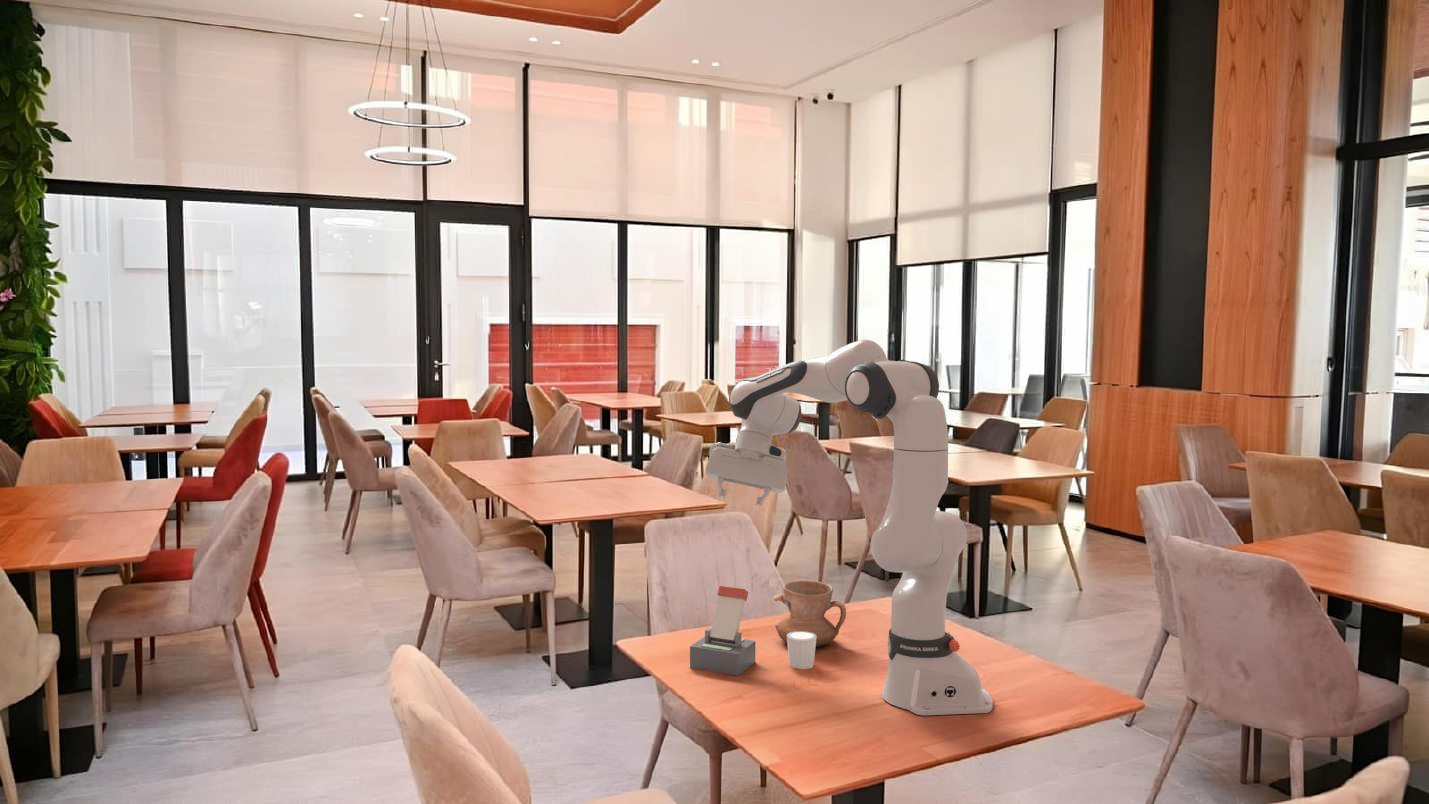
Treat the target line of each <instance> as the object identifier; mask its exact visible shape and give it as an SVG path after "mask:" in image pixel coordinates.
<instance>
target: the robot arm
mask: <svg viewBox="0 0 1429 804" xmlns="http://www.w3.org/2000/svg"><path fill="white" fill-rule="evenodd" d="M939 391H940V382H939V378H938V375H937V374H936V372H935V370H934V369H933V368H931V367H930V366H928V365H927V364H924V363H922V362H918V361H913V360H907V359H899V360H897V361H896V360H889V358H888V357H887V355H886V352H885V351H884V349H883V348H882V347H881V345H879V344H878V343H877V342H876V341H873V340H871V339H860V340H857V341H854V342H850V343H848V344H846V345H844V346H842V347H838V348H837V349H835V350H834V351H833V352H830V353H829V354H826V355H822V356H820V357H817V358H812V359H806V360H797V361H792V362H789V363H785V364H783V365H782V366H778V367H776V368H774V369H772V370H769V371H767V372H765V373H762V374H760V375H758V376H749V377H746V378H743V379H741V380H740V381H738V382H736V383H735V385H734V386H733V387H732V388H731V390H730V393H729V397H728V403H729V407H730V410H731V412H732V413H733V416H735V417H737V418H739V419H741V427H740V429H739V431H738V432H737V436H736V441H735V444H729V443H723V442H721V441H720V442H718V441H717V443H712V444H711V446H710V447H709V450H708V456H709V458H708V460H707V463H706V466H705V475H706V477H707V478H709V479H713V480H717V487H718V489H719V492H718V498H723V499H724V498H725V496H726V493H727V490H726V489H724V488H723V486H722V485H724V482H727V483H732V484H733V483H734V484H737V485H742V486H746V487H751V488H756V489H760V490H763V494H762V495H761V496H757V499H756V503H755V505H756V506H758V507H762V506H763V503H764V501H765V500H766V498H767V497H769V495H770V493H771V492H775V493H778V494H782V493H783V492H784V491H786V484H787V477H788V467H787V466H788V465H787V452H786V450H785V449H783V448H780V447H778V446H777V445H775V444H773V437H774V436H775V435H777V436H785V435H788V434H790V433H792V432H794V431H796V430H797V428H798V427H799V425H800V423H801V420H802V407H801V404H800V402H799V401H798V400H797V399H795V398H794V397H792V396H790V395H788V394H785V393H793V394H799V395H802V396H805V397H806V396H807V397H809V398H813V399H815V400H817V401H818V400H819V401H821V402H823V403H828V404H834V403H841V402H845V401H848V403H849V405H851V407H853V408H854V409H856V410H857V411H860V412H862V413H865V414H868V415H871V416H872V417H874V418H875V419H878V420H881V419H884V418H885V417H888V419H889V420H890V421H891V422H892V425H893V462H892V463H893V465H892V467H893V468H892V472H893V473H892V484H891V485H892V486H891V490H890V495H889V496H890V497H889V499H888V503H887V506H886V509H885V512H884V516H883V518H882V520H881V523H880V524H879V525H878V527H877V528H876V530H874V532H873V534H872V537H871V539H870V552H871V555H872V556H871V557H873V560H874V562H875V563H876V564H877V566H879V568H881V569H883V570H884V571H886V572H890V573H902V575H901V578H900V580H899V581H898V583H897V585H896V586H895V587H894V589H893V591H892V594H891V614H890V615H891V618H890V620H891V621H890V629H889V631H888V637H887V654H888V658H889V660H888V668H887V673H886V677H885V678H886V679H885V682H884V686H883V689H882V693H881V697H882V699H883V700H885V702H887V703H888V704H891V706H892V705H893V706H895V707H898V708H901V709H905V710H908V711H909V712H911V713H914V714H916V715H918V716H937V715H938V716H940V715H941V716H944V715H962V714H963V715H966V714H968V715H969V714H972V715H973V714H988V713H990V712H991V711H992V710H993V708H994V704H993V703H994V702H993V698H992V696H991V695H990V692H988V690H986V688H984V687H982V682H981V678H980V674H979V673H978V671H977V669H976V668H975V666H973V665H972V664H971V663H970V662H969V661H967V660H966V659H965V658H964V657H962V656H961V655H960V654H958V653H957V652H958V651H959V650H960V648H961V646H960V644H959V641H957V640H956V639H955V637H954V636H953V635H952V634H951V633H950V632H949V631H948V632H947V631H946V613H947V611H946V610H947V609H946V608H947V598H948V592H949V589H950V588H949V587H950V583H951V579H952V576H953V573H954V569H955V566H956V563H957V561H958V558H959V556H960V555H961V553H962V552H963V550H964V548H965V547H966V545H967V540H968V532H967V528H966V526H965V524H964V522H963V520H962V519H961V518H960V517H959V516H957V515H956V514H955V513H952V512H948V511H943V510H937V509H938V505H939V502H940V501H941V498H942V496H944V494H945V492H946V491H947V487H948V485H949V432H948V423H947V422H948V421H947V415H946V412H945V411H946V410H945V407H944V405H943V403H942V402H941V400H940V399H938V396H939Z"/></svg>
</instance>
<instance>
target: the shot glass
mask: <svg viewBox="0 0 1429 804" xmlns="http://www.w3.org/2000/svg"><path fill="white" fill-rule="evenodd" d="M816 638H817V636H816V634H814V633H811V632H806V631H794V632H790V633H788V634H787V642H786V643H787V655H788V665H789V667H791V668H792V669H796V668H797V670H808V669H811V668H813V667H814V665H815V656H816Z"/></svg>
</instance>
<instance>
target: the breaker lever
mask: <svg viewBox="0 0 1429 804" xmlns="http://www.w3.org/2000/svg"><path fill="white" fill-rule="evenodd" d="M748 596H749V592H748V591H747V590H746V589H744V588H739V587H738V588H737V587H730V586H723V585H719V586H718V591H717V597H718V599H717V602H716V603H717V604H716V608H715V612H714V613H715V614H714V617H713V621H712V626H711V635H710V640H711V641H716V642H723V643H729V644H735V635H736V634H737V633H739V630H740V626H741V621H742V616H743V612H744V606H745V603H746V602H747V600H748Z"/></svg>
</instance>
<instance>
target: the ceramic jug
mask: <svg viewBox="0 0 1429 804" xmlns="http://www.w3.org/2000/svg"><path fill="white" fill-rule="evenodd" d="M833 590H834V589H833V587H832V585H830V584H828V583H826V582H821V581H818V580H817V581H816V580H809V579H808V580H806V579H805V580H793V581H792V580H791V581H788V582H785V583H784V585H783V586H782V591H783V592H782V593H783V594H776V595H774V596H773V600H774V601H776V602H777V601H778V602H781V603H782V604H784V605H785V606H787V609H788V611H789V615H788V616H786V617H784V618H783V619H781V621H780V622H777V624H775V625H774V626H775V630H776V631H777V635H778V637H779V638H780V639H781V640H782V641H783V642H785V643H787V634H788V633H790V632H794V631H806V632H811V633H814V634H816V636H817V638H816V647H822V646H825V645H828V644H830V643H831V642H833V641H834V640H835V639H836V637H837V636H838V635H839V632H840V631H839V630H840V629H841V627H842V625H843V624H844V623H845V621H846V616H847V609H846V606H845V604H844V603H843V602H841V601H839V600H833V601H831V600H832V596H833V593H834V591H833ZM833 607H834V608H835V607H837V608H839V609H840V617H839V618H838V619H839V620H838V622H837V624H836V626H835V625H834V623H832V622H831V621H830V620H829V619H828V618H826V616H825V614H826V612H827V611H829V610H830V609H831V608H833ZM816 647H815V648H816Z"/></svg>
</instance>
